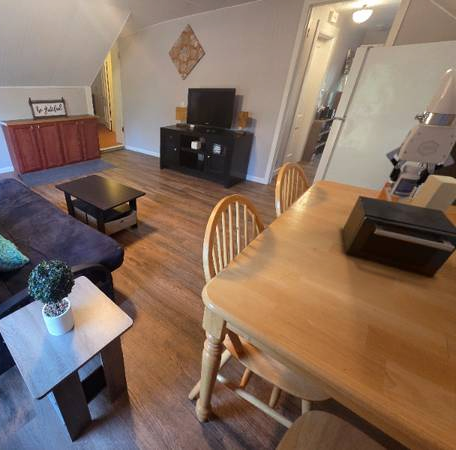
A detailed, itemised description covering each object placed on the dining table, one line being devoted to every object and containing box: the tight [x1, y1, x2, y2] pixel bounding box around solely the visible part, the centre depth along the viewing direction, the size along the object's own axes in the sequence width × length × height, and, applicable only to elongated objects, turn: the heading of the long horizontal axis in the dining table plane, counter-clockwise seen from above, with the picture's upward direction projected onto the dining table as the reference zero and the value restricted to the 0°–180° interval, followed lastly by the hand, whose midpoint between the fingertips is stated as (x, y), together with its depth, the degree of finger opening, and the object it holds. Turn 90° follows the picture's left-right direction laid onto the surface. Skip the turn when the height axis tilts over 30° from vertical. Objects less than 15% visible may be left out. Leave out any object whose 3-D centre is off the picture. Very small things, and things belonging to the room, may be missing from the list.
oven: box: [342, 195, 456, 252], centre depth 82 cm, size 16×22×15 cm
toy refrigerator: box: [409, 174, 456, 215], centre depth 92 cm, size 8×7×21 cm
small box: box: [376, 180, 418, 205], centre depth 107 cm, size 8×6×13 cm
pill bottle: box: [387, 164, 423, 199], centre depth 77 cm, size 5×5×10 cm
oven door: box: [344, 216, 456, 278], centre depth 74 cm, size 6×22×15 cm, turn 60°
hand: (405, 181), depth 77 cm, fingers closed on pill bottle, 5 cm apart
